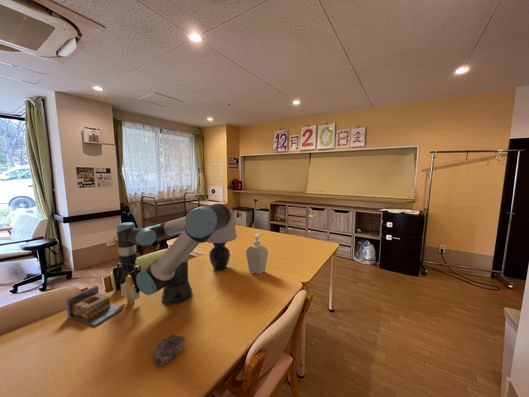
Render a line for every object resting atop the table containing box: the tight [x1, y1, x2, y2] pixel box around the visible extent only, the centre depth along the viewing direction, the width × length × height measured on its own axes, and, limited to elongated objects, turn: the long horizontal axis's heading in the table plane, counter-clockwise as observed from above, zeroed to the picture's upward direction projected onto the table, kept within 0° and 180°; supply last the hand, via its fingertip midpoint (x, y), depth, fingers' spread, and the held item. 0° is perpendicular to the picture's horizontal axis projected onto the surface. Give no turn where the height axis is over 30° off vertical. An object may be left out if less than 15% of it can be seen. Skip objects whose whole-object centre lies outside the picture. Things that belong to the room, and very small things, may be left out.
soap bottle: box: [245, 233, 269, 275], centre depth 148 cm, size 12×10×26 cm
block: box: [73, 293, 111, 319], centre depth 104 cm, size 10×10×5 cm
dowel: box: [126, 274, 136, 305], centre depth 112 cm, size 3×3×14 cm
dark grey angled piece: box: [65, 285, 124, 328], centre depth 103 cm, size 18×13×9 cm
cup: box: [111, 266, 129, 291], centre depth 126 cm, size 8×8×12 cm
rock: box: [152, 333, 186, 368], centre depth 81 cm, size 8×11×5 cm
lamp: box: [205, 210, 238, 272], centre depth 152 cm, size 24×24×40 cm
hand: (130, 296), depth 112 cm, fingers open, 8 cm apart
